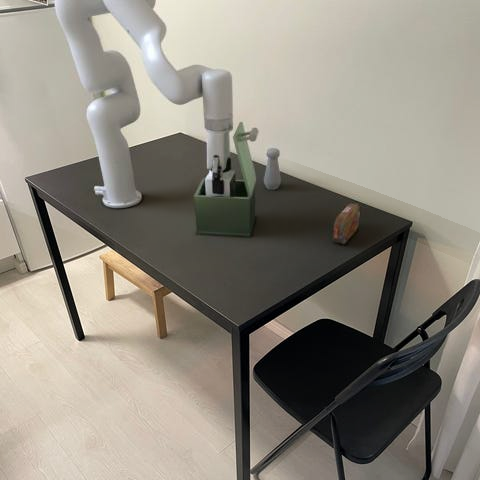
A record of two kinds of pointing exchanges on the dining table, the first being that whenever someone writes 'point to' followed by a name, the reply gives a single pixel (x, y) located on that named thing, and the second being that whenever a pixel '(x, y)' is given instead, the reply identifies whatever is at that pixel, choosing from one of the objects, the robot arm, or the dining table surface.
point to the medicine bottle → (228, 181)
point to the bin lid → (245, 155)
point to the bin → (225, 212)
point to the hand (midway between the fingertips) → (220, 186)
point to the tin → (347, 223)
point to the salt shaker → (272, 170)
